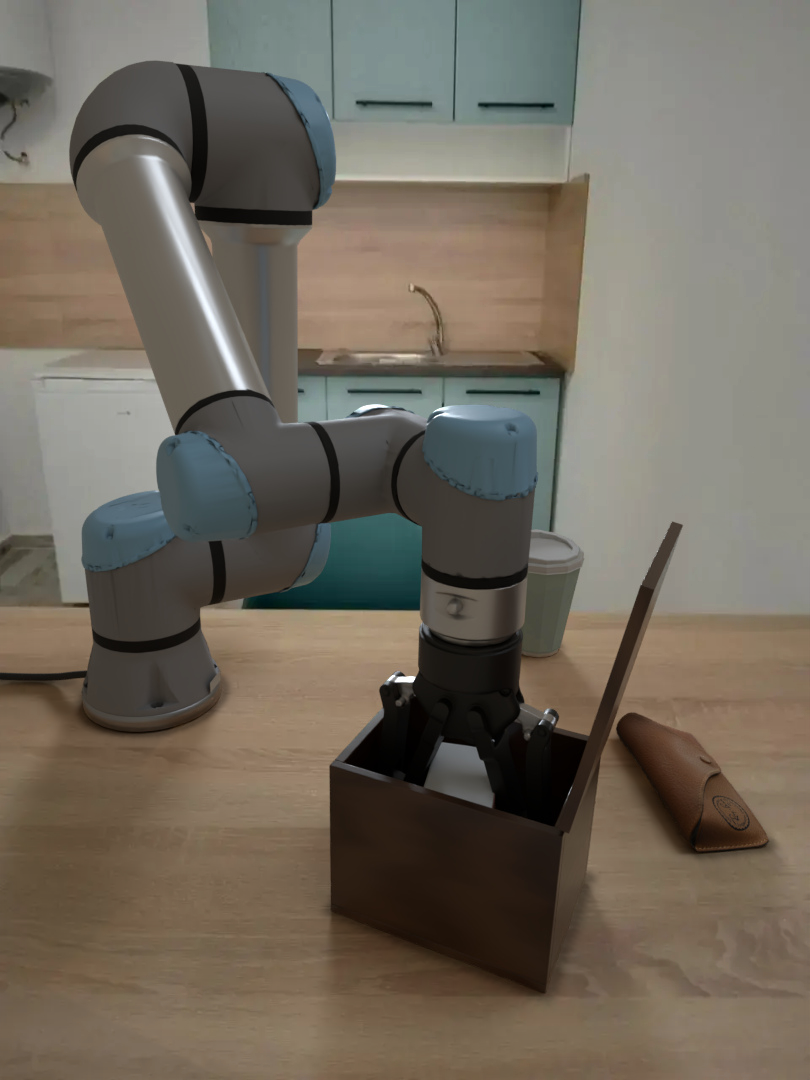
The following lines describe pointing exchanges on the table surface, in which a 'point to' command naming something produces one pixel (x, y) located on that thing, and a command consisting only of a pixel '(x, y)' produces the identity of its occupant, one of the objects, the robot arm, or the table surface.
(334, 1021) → the table surface
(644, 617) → the lid
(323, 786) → the table surface
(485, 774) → the small box
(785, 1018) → the table surface
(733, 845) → the sunglasses case
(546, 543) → the disposable coffee cup
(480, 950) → the chest
